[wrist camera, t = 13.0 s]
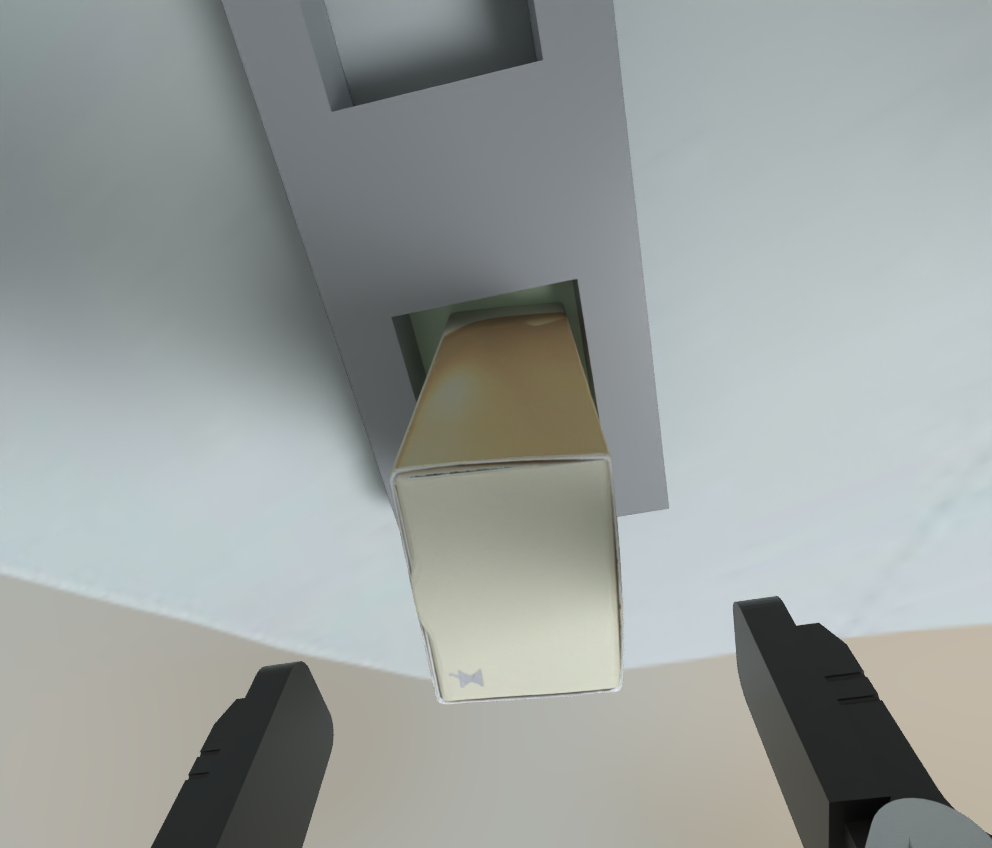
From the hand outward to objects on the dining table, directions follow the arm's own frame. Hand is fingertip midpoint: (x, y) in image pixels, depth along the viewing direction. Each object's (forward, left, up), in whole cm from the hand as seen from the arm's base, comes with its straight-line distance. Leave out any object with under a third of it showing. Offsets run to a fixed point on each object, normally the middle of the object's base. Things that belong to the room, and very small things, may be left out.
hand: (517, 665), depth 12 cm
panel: (0, -7, -14) cm, 16 cm away
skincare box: (0, 0, -14) cm, 14 cm away
